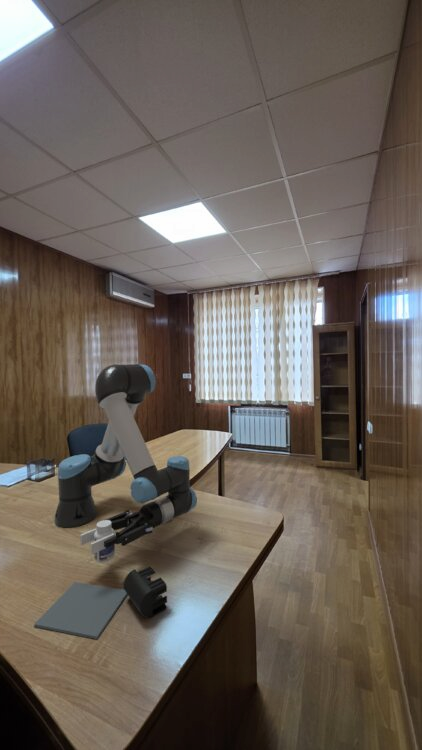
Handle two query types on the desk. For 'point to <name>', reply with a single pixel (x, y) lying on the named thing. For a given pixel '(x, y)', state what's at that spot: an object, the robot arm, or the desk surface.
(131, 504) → the desk surface
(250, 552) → the desk surface
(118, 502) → the desk surface
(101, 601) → the mat
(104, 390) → the robot arm
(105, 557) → the pill bottle
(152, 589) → the end cap
